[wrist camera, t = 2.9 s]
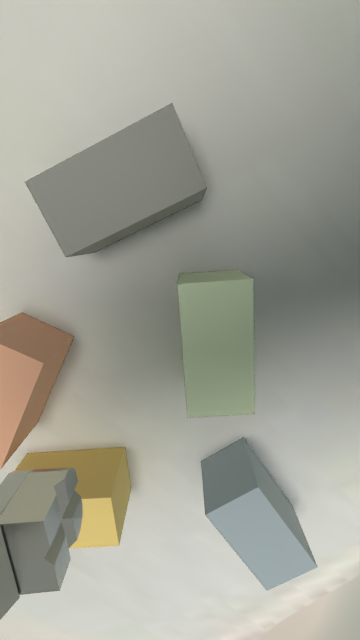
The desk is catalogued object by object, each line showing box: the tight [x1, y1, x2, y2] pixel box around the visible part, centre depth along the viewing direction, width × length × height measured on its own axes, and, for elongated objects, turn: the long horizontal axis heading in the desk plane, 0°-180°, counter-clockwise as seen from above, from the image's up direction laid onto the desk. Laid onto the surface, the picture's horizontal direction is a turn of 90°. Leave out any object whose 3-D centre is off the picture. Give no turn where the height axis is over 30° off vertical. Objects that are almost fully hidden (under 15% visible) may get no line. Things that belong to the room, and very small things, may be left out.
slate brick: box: [201, 438, 317, 590], centre depth 20 cm, size 7×4×4 cm, turn 34°
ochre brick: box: [15, 447, 131, 548], centre depth 20 cm, size 7×4×4 cm, turn 95°
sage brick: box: [177, 270, 255, 418], centre depth 17 cm, size 7×4×4 cm, turn 4°
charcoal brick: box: [25, 103, 207, 257], centre depth 15 cm, size 7×4×4 cm, turn 115°
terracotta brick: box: [0, 313, 74, 469], centre depth 18 cm, size 7×4×4 cm, turn 154°
